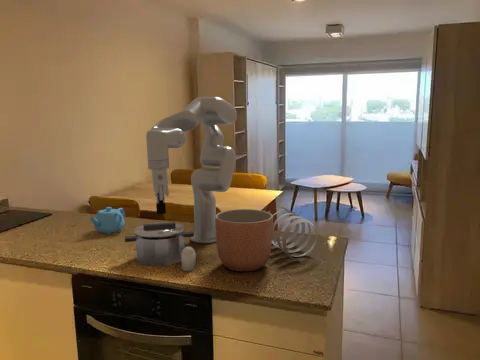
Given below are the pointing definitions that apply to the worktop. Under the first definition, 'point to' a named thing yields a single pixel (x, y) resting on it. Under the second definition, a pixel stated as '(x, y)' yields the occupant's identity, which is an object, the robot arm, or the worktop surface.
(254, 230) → the planter
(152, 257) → the pot
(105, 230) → the teapot
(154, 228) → the lid
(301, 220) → the spring
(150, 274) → the worktop surface
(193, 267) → the salt cellar
